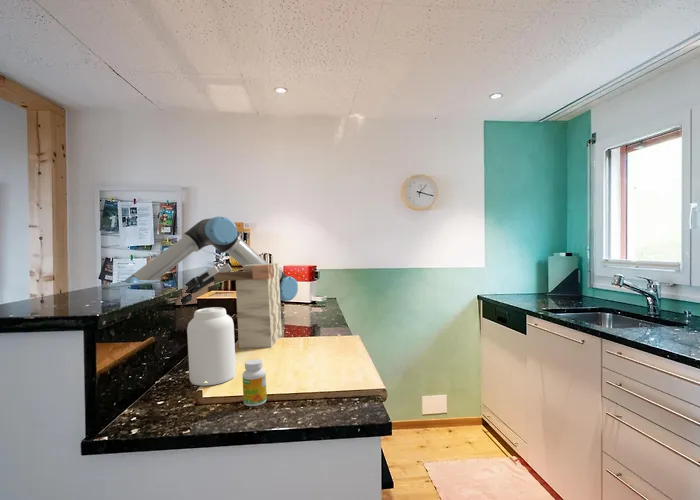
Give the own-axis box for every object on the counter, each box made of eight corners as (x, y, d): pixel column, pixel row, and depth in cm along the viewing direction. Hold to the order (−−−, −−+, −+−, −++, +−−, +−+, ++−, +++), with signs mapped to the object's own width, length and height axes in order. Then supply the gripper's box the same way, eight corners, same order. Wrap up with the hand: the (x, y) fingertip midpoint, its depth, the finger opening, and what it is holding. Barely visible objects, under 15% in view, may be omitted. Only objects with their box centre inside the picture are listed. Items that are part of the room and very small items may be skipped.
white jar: (179, 383, 105) (176, 311, 105) (214, 369, 116) (211, 304, 116) (211, 389, 99) (208, 314, 99) (245, 374, 110) (242, 306, 110)
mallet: (219, 279, 146) (218, 266, 146) (272, 277, 145) (272, 264, 145) (212, 281, 140) (212, 267, 140) (268, 279, 139) (268, 265, 139)
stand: (253, 336, 157) (249, 264, 156) (281, 335, 156) (278, 263, 156) (238, 348, 139) (235, 267, 138) (271, 347, 138) (267, 265, 138)
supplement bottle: (239, 406, 88) (237, 365, 88) (249, 397, 93) (247, 358, 93) (262, 407, 87) (260, 365, 87) (270, 397, 92) (268, 358, 92)
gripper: (196, 300, 156) (239, 273, 155) (165, 311, 131) (216, 279, 130) (187, 285, 156) (229, 257, 155) (153, 293, 131) (204, 260, 130)
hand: (223, 267), depth 143 cm, fingers open, 13 cm apart
